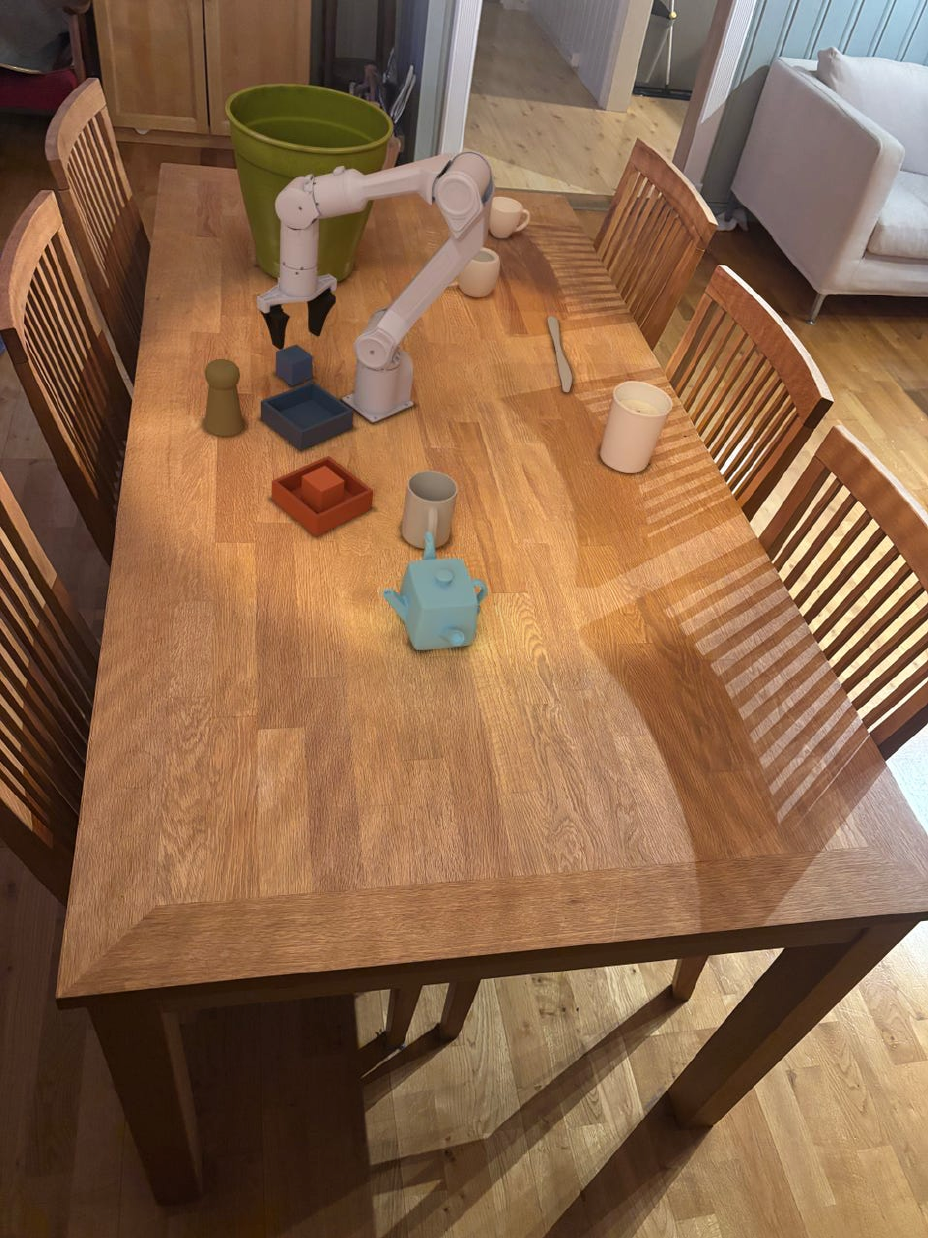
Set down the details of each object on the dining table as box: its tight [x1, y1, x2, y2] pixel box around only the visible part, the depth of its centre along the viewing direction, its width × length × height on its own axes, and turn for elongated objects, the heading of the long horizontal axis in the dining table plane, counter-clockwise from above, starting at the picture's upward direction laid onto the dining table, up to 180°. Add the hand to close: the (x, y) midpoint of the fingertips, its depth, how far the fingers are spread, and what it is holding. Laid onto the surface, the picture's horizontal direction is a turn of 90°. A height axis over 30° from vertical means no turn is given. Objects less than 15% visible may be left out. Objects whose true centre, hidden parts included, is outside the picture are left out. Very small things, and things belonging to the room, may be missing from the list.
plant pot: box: [224, 83, 394, 283], centre depth 184 cm, size 30×30×29 cm
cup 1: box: [400, 469, 459, 550], centre depth 139 cm, size 7×10×9 cm
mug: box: [447, 246, 501, 298], centre depth 194 cm, size 12×8×8 cm
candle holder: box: [599, 380, 674, 474], centre depth 160 cm, size 10×10×12 cm
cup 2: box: [488, 196, 531, 239], centre depth 216 cm, size 8×10×7 cm
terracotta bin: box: [271, 455, 374, 537], centre depth 143 cm, size 11×10×4 cm
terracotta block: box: [301, 466, 345, 514], centre depth 142 cm, size 4×4×4 cm
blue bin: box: [260, 380, 355, 452], centre depth 156 cm, size 11×10×4 cm
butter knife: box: [547, 315, 573, 393], centre depth 184 cm, size 1×27×3 cm
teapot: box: [381, 532, 489, 651], centre depth 126 cm, size 18×14×10 cm
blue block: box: [275, 344, 314, 387], centre depth 165 cm, size 4×4×4 cm
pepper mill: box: [203, 358, 244, 437], centre depth 150 cm, size 6×6×11 cm
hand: (296, 339), depth 159 cm, fingers open, 7 cm apart
